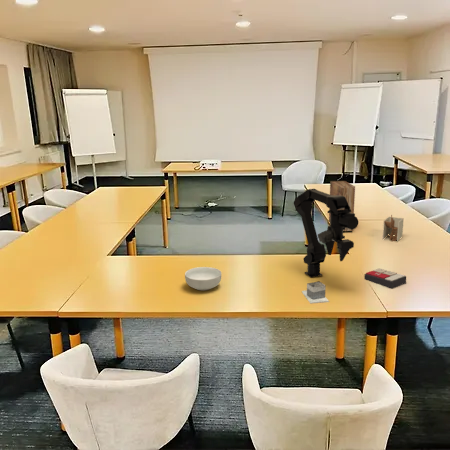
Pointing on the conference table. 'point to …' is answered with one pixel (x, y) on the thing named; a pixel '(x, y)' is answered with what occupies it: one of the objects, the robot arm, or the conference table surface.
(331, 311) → the conference table surface
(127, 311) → the conference table surface
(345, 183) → the brown wooden block
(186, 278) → the cereal bowl
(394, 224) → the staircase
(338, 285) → the conference table surface
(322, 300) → the hard drive
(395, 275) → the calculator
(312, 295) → the box
